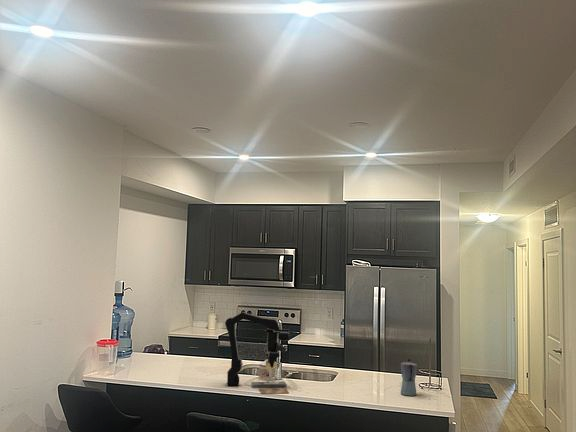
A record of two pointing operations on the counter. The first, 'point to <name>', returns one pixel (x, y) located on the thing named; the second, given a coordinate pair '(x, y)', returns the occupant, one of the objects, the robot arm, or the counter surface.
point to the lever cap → (270, 366)
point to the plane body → (268, 384)
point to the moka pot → (408, 378)
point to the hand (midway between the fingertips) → (271, 366)
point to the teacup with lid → (266, 371)
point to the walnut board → (274, 391)
